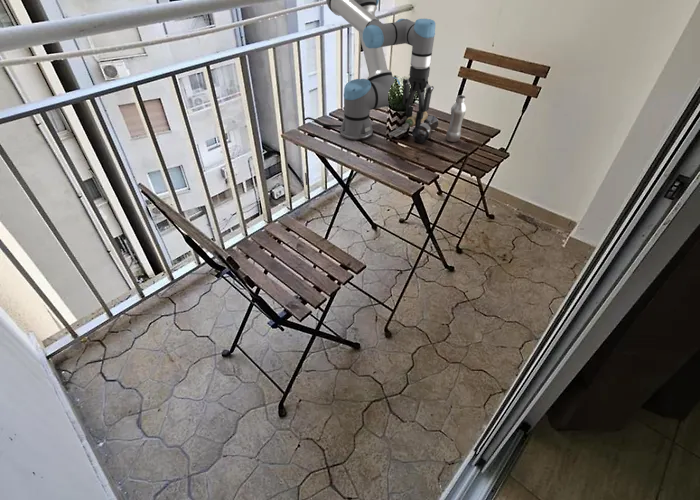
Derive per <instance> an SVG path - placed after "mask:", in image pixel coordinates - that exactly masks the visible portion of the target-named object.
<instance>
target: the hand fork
mask: <svg viewBox="0 0 700 500" xmlns="http://www.w3.org/2000/svg"><path fill="white" fill-rule="evenodd" d="M416 116H417V113H415V114H412V116H411V117H409V118H407V117H406V120H405V122H404V123H403V124H402V125H401V126H398V127H397V128H396V129H394V130H392V131H390V132H389V134H388V135H390V136H392V137H395V138H397V137H398V136H400V135H402V134H404V133H406V132H407V131H408V129H409V128H412V127H413V128H414V127H415V124H416ZM428 116H429V114H428V112H427V111H425V112H424V113H423V118H422V119H421V123H423V122H424V120H426V119H427V118H428Z"/></svg>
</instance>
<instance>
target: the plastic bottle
mask: <svg viewBox="0 0 700 500" xmlns="http://www.w3.org/2000/svg"><path fill="white" fill-rule="evenodd" d="M465 102H466V96H465V95H463V94H462V95H461V94H460V95H457V96H456V97H455V102H454V103H453V104H452V106H451V108H450V121H449V125H448V127H447V131H446V133H445V138H446V140H447V141H448V142H450V143H455V142H458V141H459V140H460V138H461V136H462V125H463V121H464V118H465V115H466V112H467V105H466V104H465Z"/></svg>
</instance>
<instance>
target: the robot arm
mask: <svg viewBox="0 0 700 500" xmlns="http://www.w3.org/2000/svg"><path fill="white" fill-rule="evenodd" d="M325 2H326V5H327V7H328V9H329V10H330V11H331V12H332V13H333V14H334V15H336V16H340V17H341V18H342V19H344V21H346V22H347V23H348V24H350V25H351V26H352V27H353V28H354V29H355V30H357V32H358V34H359V38H360V39H359V40H360V43H361V47H362V51H363V55H364V59H365V64H366V68H367V72H368V77H367V78H355V79H352V80H349V81H348V82H347V83H346V84H345V85H344V89H343V119H342V122H341V124H330V123H329V124H328V123H324V122H321V121H319V120H318V119H315V118H313V117H310V116H307V117H305V118H304V119H303V120H304V121H307V120H310V121H313V122H316V123H318V124H319V125H321V126H324V127H331V128H340V130H339V131H340V136H341V137H342V138H344V139H346V140H350V141H364V140H367V139H370V138H371V137H372V136H373V133H374V129H373V125H372V122H371V118H370V114H371V110H375V109H376V110H377V109H380V108H385V107H387V108H388V107H390V106H389V103H388V92H389V90H390V88H391V85H392V84H393V83H394V81H395V80H394V79H397V82H398V84H399V85H400V86H401V83H400V80H399V79H398V78H397V77H395V76H394V75H393V72H392V71H391V70H389V69H388V65H387V62H386V56H385V53H384V48H385V47H391V46H398V45H404V44H406V45H409V46H411V55H410V56H411V58H410V67H409V78H405V79H403V80H402V85H403V92H402V105H403V106H405V115H406V119H407V118H409V117H411V116H413V112H414V111H413V110H414V107H413V102H414V99H415V96H416V94H417V99H418V101H417V102H418V110H417V111H416V114H417V116H416V124H415V125H414V128H415V127H418V126H420V124H421V123H422V122H421V119H422V118H423V113H424V112H425V111H426V112H427V111H429V110H430V109H429V108H430V104H431V98H432V93H433V90H434V89H435V88H434V86H433V85H430V84H429V77H430V70H431V67H430V66H431V61H432V56H433V48H434V41H435V35H436V22H435V20H434V19H431V18H418V19H416V20H415V21H413V20H411V19H408V18H399V19H397V20H396V21H395V22H386V23H385V22H384V23H383V22H381V21H380V20H379V19H378V18H376V11H377V10H378V7H377V6H378V4H379V2H380V0H325ZM304 177H305V186H308V174H307V172H304Z"/></svg>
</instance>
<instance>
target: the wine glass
mask: <svg viewBox="0 0 700 500" xmlns="http://www.w3.org/2000/svg"><path fill="white" fill-rule="evenodd" d="M438 126H439V119H438V118H437V117H436V116H435V115H432V114H430V115H428V118H427V119H426V120H424V121H423V122H421V124H420V126H418V127H415V126H414V127H413V129H412V131H411V136H412V139H413V140H414V141H415V142H416V143H419V144H423V143H426V142H427V141H428V139H429V138H430V137H431V134H432V131H434V130H437V128H438Z"/></svg>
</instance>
